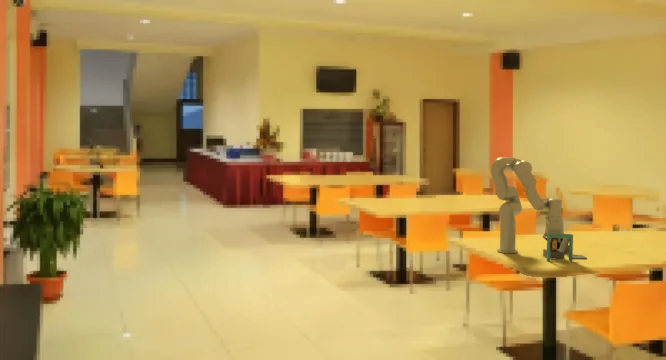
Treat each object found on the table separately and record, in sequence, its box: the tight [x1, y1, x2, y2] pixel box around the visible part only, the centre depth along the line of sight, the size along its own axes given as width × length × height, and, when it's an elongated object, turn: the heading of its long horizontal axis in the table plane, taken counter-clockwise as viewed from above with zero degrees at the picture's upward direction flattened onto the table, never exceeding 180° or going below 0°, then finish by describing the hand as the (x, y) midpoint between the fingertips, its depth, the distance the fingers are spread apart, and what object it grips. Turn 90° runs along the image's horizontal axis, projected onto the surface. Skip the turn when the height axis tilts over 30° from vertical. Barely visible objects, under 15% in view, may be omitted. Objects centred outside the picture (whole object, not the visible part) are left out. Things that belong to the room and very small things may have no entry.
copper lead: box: [550, 238, 558, 252], centre depth 419 cm, size 4×4×12 cm
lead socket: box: [542, 248, 566, 260], centre depth 420 cm, size 10×10×4 cm
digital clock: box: [559, 238, 569, 254], centre depth 438 cm, size 16×9×11 cm, turn 174°
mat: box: [566, 254, 588, 260], centre depth 419 cm, size 10×9×1 cm
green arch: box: [546, 233, 574, 262], centre depth 407 cm, size 3×14×16 cm, turn 88°
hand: (553, 248), depth 419 cm, fingers closed on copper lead, 4 cm apart
